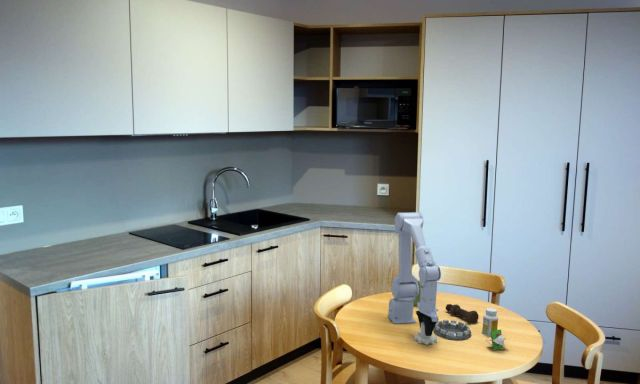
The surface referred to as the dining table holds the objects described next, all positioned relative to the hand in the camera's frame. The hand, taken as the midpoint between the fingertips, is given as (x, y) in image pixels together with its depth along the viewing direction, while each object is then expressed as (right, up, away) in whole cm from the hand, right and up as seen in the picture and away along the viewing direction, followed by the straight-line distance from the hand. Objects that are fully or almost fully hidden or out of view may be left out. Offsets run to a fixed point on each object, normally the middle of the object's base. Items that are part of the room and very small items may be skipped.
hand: (425, 333), depth 195 cm
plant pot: (+4, +2, +38) cm, 38 cm away
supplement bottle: (+26, -3, +8) cm, 27 cm away
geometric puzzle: (+24, -4, -4) cm, 25 cm away
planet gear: (0, -3, 0) cm, 3 cm away
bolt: (+19, 0, +24) cm, 31 cm away
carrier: (+12, -2, +8) cm, 14 cm away
